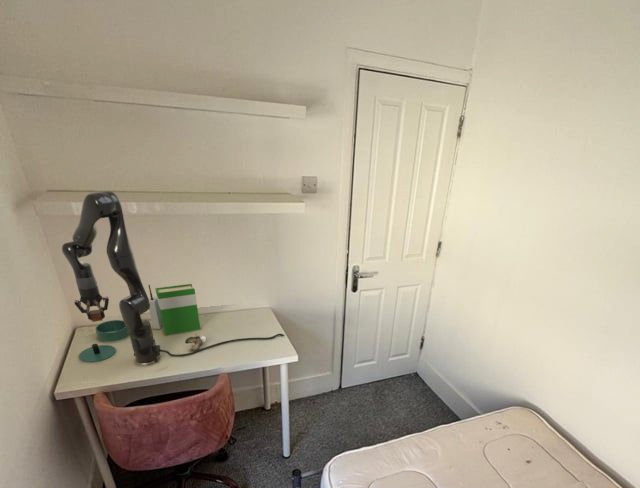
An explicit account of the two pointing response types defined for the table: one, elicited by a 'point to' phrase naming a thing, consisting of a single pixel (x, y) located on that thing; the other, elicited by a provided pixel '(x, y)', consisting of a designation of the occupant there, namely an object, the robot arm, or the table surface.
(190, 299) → the hardback book
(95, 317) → the block
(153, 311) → the vintage mobile phone
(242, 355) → the table surface
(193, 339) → the eagle figurine
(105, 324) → the tin
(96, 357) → the lid
